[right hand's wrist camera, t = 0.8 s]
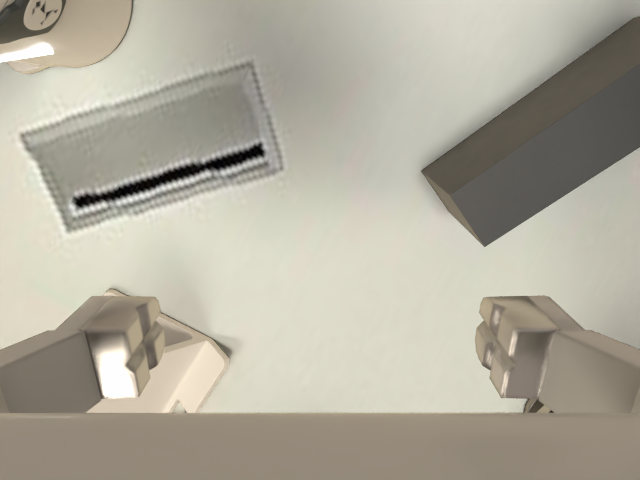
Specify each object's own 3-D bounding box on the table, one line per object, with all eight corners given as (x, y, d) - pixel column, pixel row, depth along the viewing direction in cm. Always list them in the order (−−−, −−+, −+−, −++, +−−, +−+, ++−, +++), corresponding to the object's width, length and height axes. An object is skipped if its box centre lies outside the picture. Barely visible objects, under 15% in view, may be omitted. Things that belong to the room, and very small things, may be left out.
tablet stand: (44, 417, 59) (-58, 539, 43) (108, 286, 51) (12, 376, 36) (159, 466, 62) (104, 596, 46) (235, 350, 55) (200, 458, 39)
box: (449, 212, 48) (484, 247, 38) (421, 170, 46) (449, 195, 36) (658, 70, 43) (766, 65, 32) (634, 17, 41) (740, -6, 30)
